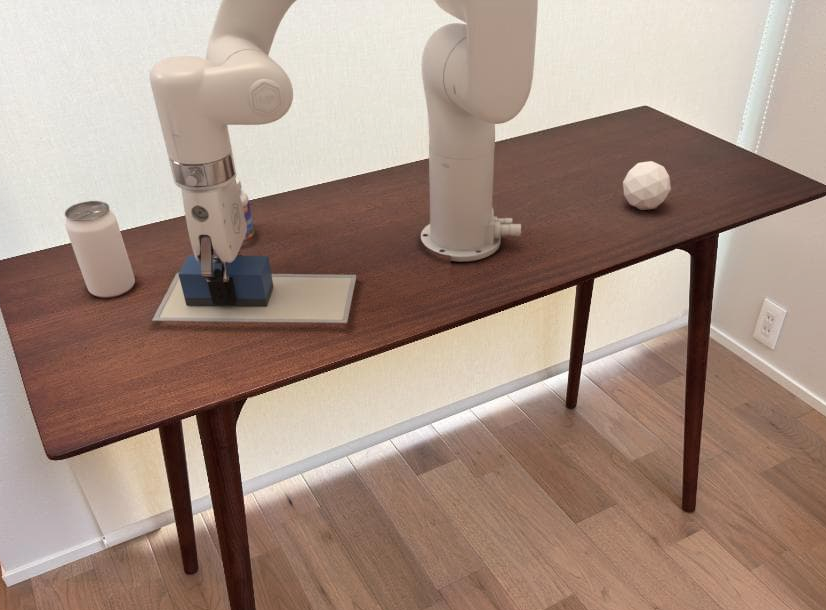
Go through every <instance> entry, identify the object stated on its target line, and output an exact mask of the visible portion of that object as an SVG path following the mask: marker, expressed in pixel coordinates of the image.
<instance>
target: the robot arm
mask: <svg viewBox="0 0 826 610" xmlns="http://www.w3.org/2000/svg"><path fill="white" fill-rule="evenodd" d="M433 1H434V2H435V4H436V5H437V7H438V8H440V9H441V10H442V11H444V12H445V13H447V14H449V15H450V16H452V17H454V18H456V19H457V20H460V21H461V22H464V23H459V22H458V23H457V22H454V23H448V24H445V25H443V26H440V27H439V28H437V29H436V30H435V31H434V32H433V33H432V34H431V35H430V36H429V38H428V39H427V42H426V43H425V45H424V48H423V51H422V56H421V64H420V65H421V79H422V86H423V91H424V96H425V97H424V98H425V103H426V110H427V111H426V112H427V122H428V126H427V127H428V169H429V170H428V176H429V177H428V178H429V179H428V180H429V185H428V186H429V223H428V224H427V225H426V226H425V227H424V228H423V229H422V230H421V232H420V240H421V242H422V244H423V245H424V246H425V247H426V248H428V249H429V250H431V251H433V252H434V253H437V254H441V255H445V256H449V257H450V258H449V261H450V262H457V263H458V262H459V263H464V262H465V263H466V262H475V261H478V260H482V259H485V258H488V257H490V256H491V255H493V254H495V253H496V252H497V251H498V250H499V248H500V247H501V243H502V242H501V241H502V239H501V237H511V238H513V237H514V238H515V237H516V238H519V237H520V238H521V237H522V224H521V223H513V217H500V218H499V217H498V216H495V213H494V208H493V198H494V197H493V193H494V170H495V147H496V125H501V124H505V123H507V122H509V121H511V120H513V119H514V118H515V117H517V116H518V115H519V114H520V112H521V111H522V110H523V109H524V107H525V105H526V103H527V101H528V99H529V98H530V97H529V96H530V93H531V89H532V85H533V79H534V70H535V59H536V58H535V55H536V43H537V42H536V40H537V28H538V27H537V25H538V10H539V9H538V6H539V0H433ZM295 2H297V0H221V2H220V4H219V7H218V10H217V14H216V17H215V20H214V23H213V27H212V30H211V34H210V37H209V40H208V44H207V48H206V52H205V53H206V54H205V58H203V57H200V56H192V55H181V56H173V57H168V58H166V59H161V60H160V61H158V62H156V63H155V64H154V65H153V66H152V67H151V69H150V71H149V83H150V87H151V92H152V95H153V100H154V103H155V109H156V112H157V117H158V121H159V125H160V129H161V133H162V137H163V141H164V145H165V149H166V154H167V157H168V161H169V166H170V169H171V174H172V178H173V182H174V184H175V186H177V187H178V188H180V189H181V197H182V204H183V210H184V217H185V222H186V228H187V233H188V237H189V242H190V245H191V249H192V253H193V255H194V256H195V258H196V260H197V261H198V262H201V274H202V276H204V277H206V281H207V282H208V286H209V290H210V294H211V299H212V303H213V304H214V305H236V303H237V298H236V294H235V289H234V284H233V279H232V278H229V270H228V263H231V262H233V261H234V259H235V258H236V256H243V255H242V254H241V253H242V248H241V247H242V246H243V242H244V241H245V240H244V238H245V235H246V232H247V224H246V219H245V215H244V210H243V206H242V202H241V198H240V194H239V190H238V186H237V182H236V179H235V178H236V177H237V170H236V164H235V157H234V154H233V153H234V152H233V149H232V143H231V138H230V131H229V127H228V126H255V125H256V126H260V125H267V124H271V123H275V122H276V121H278V120H280V119H282V118H283V117H284V116H285V115H287V113H288V112H289V110H290V108H291V107H292V104H293V100H294V88H293V83H292V82H291V79H290V77H289V75H288V74H287V73H286V71H285V70H284V68H282V66H281V65H280V64H278V63H277V61H275V60H273V59H272V58H271V56H269V54H270V53H271V48H272V45H273V43H274V39H275V36H276V34H277V31H278V29H279V26H280V24H281V22H282V20H283V18H284V17H285V15H286V13H287V12H288V10H289V9H290V8H292V6H293V5H294V3H295ZM424 235H427V236H424ZM214 255H218V257H214ZM214 263H221V267H222V271H221V270H220V269H215V267H214Z"/></svg>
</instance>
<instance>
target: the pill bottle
mask: <svg viewBox="0 0 826 610" xmlns="http://www.w3.org/2000/svg"><path fill="white" fill-rule="evenodd" d="M235 179H236V182H237V186H238V190H239V194H240V198H241V202H242V206H243V210H244V215H245V219H246V224H247V232H246V235H245V238H244V240H243V241H247V240H248V239H250V238H252V237H253V236H254V235H255V228H254V222H253V216H252V211H251V206H250V200H249V196H248V194H247V192H245V191H244V190H242V182H241V180H240V178H239V177H238V176H236V178H235Z"/></svg>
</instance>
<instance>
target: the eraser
mask: <svg viewBox="0 0 826 610" xmlns="http://www.w3.org/2000/svg"><path fill="white" fill-rule="evenodd" d="M214 257H218V255H217V254H214ZM214 267H215V269H220V270H221V271H222V267H221V263H214ZM228 270H229V278H232V279H233V284H234V289H235V294H236V298H237V303H236V305H214V304H213V303H212V299H211V294H210V290H209V286H208V282H207V281H206V277H204V276H202V274H201V262H198V261H197V260H196V258H195V256H194V254H188V255H187V257H186V258H185V260H184V263H183V264H182V266H181V268H180V270H179V272H178V273H179V274H178V275H179V279H180V282H181V286H182V290H183V294H184V298H185V302H186V305H187V306H260V307H267V305H268V302H269V299H270V296H271V293H272V290H273V287H274V286H273V280H272V274H273V273H272V269H271V263H270V258H269V255H242V256H236V258H235V259H234V261H233V262H231V263H228Z"/></svg>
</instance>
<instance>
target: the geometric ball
mask: <svg viewBox="0 0 826 610" xmlns="http://www.w3.org/2000/svg"><path fill="white" fill-rule="evenodd" d="M622 188H623V189H622V190H623V196H624V198H625V199H626V201H627V202H628V204H629V205H630V206H632V207H635V208H636V209H638V210H640V211H645V210H646V211H647V210H655V209H657V208H658V207H659V206H660V205H661V204H662V203H663V202H664V201H665V200H666V198H667V197H668V195H669V193H670V192H671V191H672V187H671V178H670V175H669V173H668V171H667V170H666V168H665V166H663V165H661V164H659V163H657V162H655V161H652V160H649V161H643V162H637V163H636V164H635V165H634V166H633V167H631V169H629V170H628V172H627V174H626V176H625V177H624V179H623V181H622Z"/></svg>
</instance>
